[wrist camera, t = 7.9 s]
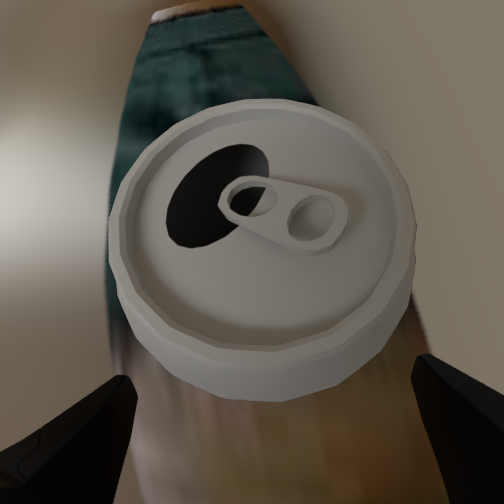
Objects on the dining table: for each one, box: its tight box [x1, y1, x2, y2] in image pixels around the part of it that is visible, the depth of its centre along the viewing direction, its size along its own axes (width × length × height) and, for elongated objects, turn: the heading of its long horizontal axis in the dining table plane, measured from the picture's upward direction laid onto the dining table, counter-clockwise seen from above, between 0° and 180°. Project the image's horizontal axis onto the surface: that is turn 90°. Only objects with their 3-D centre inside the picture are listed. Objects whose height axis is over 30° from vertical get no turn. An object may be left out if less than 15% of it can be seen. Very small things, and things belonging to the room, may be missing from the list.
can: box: [109, 99, 417, 402], centre depth 11 cm, size 8×8×12 cm
